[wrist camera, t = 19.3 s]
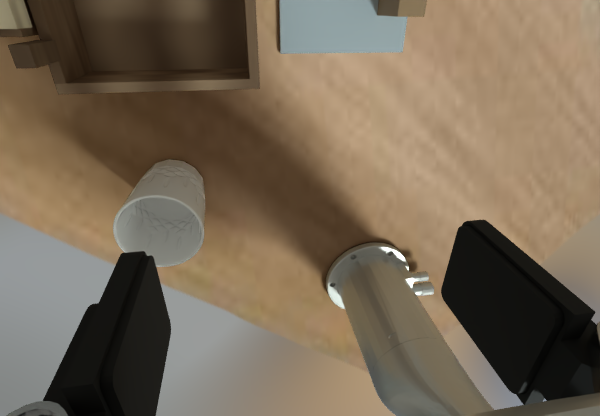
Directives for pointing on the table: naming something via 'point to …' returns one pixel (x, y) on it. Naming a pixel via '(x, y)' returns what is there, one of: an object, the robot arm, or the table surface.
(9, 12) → the beige rectangular bar
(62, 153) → the table surface
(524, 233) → the table surface
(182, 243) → the white cup
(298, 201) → the table surface
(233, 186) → the table surface
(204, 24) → the toolbox
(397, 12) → the lid
